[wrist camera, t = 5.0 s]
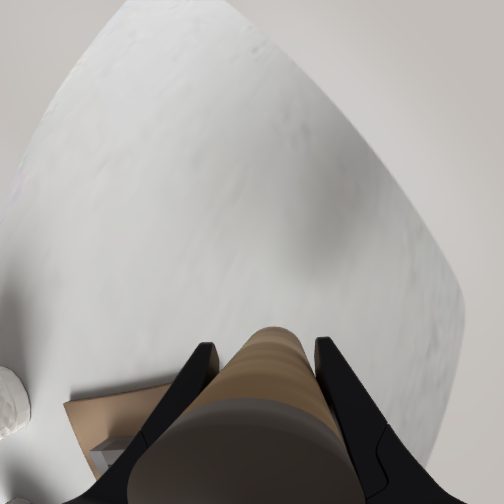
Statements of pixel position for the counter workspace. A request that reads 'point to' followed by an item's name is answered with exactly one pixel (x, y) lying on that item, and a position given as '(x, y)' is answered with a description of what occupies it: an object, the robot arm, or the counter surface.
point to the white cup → (12, 403)
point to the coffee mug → (19, 501)
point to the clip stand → (110, 423)
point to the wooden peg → (252, 437)
